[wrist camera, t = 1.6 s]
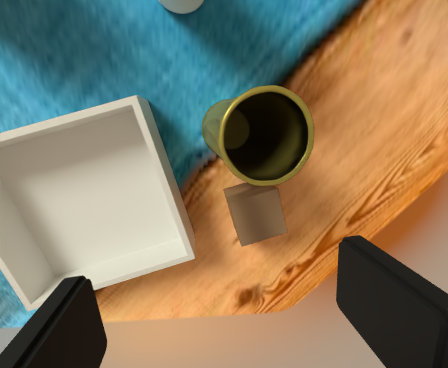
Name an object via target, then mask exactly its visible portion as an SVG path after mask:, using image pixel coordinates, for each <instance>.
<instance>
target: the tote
mask: <svg viewBox="0 0 448 368" xmlns="http://www.w3.org/2000/svg"><path fill="white" fill-rule="evenodd" d="M192 259H195V234H194V231H193V228H192V225H191V222H190V219H189V217H188V214H187V211H186V208H185V205H184V202H183V199H182V197H181V194H180V191H179V188H178V185H177V182H176V179H175V177H174V174H173V171H172V168H171V165H170V162H169V159H168V157H167V154H166V151H165V148H164V145H163V142H162V139H161V137H160V134H159V131H158V128H157V125H156V122H155V120H154V117H153V114H152V111H151V108H150V105H149V102H148V100H146V99H144V98H142V97H139V96H137V95H134V96H131V97H127V98H124V99H120V100H117V101H113V102H109V103H106V104H102V105H99V106H95V107H92V108H88V109H85V110H81V111H78V112H74V113H70V114H67V115H63V116H60V117H56V118H53V119H49V120H46V121H42V122H38V123H35V124H31V125H28V126H24V127H21V128H17V129H14V130H10V131H6V132H3V133H0V269H1V271H2V272H3V274H4V275H5V277H6V278H7V280H8V281H9V283H10V284H11V286H12V287H13V289H14V291H15V292H16V294H17V295H18V297H19V298H20V300H21V301H22V303H23V304H24V306H25V307H26V309H27V310H28V311H30V310H33V309H36V308H39V307H40V306H41V305H42V304H43V303H44V301H45V300H46V299H47V298H48V297H49V295H50V294H51V293H52V292H53V291H54V289H55V288H56V287H57V286H58V285H59V283H60V282H61V281H62V280H63V279H64V278H68V277H75V276H82V275H83V276H85V277H86V279H90V280H91V282H92V286H93V289H94V290H97V289H100V288H103V287H106V286H110V285H113V284H116V283H119V282H122V281H125V280H129V279H132V278H135V277H138V276H141V275H145V274H148V273H151V272H154V271H157V270H160V269H164V268H167V267H170V266H173V265H176V264H180V263H183V262H186V261H189V260H192Z"/></svg>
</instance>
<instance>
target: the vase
mask: <svg viewBox="0 0 448 368" xmlns="http://www.w3.org/2000/svg"><path fill="white" fill-rule="evenodd" d="M202 135H203V138H204V141H205V143H206V144H207V146H208V147H209V148H210V149H211V150H212V151H213V152H214V153H216V154H218V155H219V156H220V158H221V159H222V160H223V161H224V162H225V164H226V165H227V166H228V168H229V169H230V170H231V172H232V173H233V174H234V175H235V176H237V177H238V178H240V179H242V180H244V181H246V182H248V183H250V184H252V185H256V186H270V185H278V184H281V183H283V182H285V181H287V180H289V179H290V178H292V177H293V176H295V175H296V174H297V173H298V172H299V171H300V170H301V169H302V167H303V166H304V164H305V163H306V161H307V160H308V158H309V156H310V154H311V151H312V148H313V143H314V123H313V119H312V115H311V113H310V111H309V109H308V107H307V106H306V104H305V103H304V101H303V100H302V99H301V98H300V97H299V96H297V95H296V94H295V93H293V92H292V91H290V90H288V89H286V88H283V87H280V86H276V85H269V86H259V87H254V88H252V89H250V90H248V91H247V92H245V93H243V94H242V95H240V96H239V97H235V98H233V99H227V100H222V101H219V102H217V103H215V104H214V105H213V106H211V107H210V108H209V110H208V111H207V112H206V114H205V116H204V118H203V122H202Z"/></svg>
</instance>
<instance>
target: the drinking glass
mask: <svg viewBox="0 0 448 368" xmlns="http://www.w3.org/2000/svg"><path fill="white" fill-rule="evenodd" d="M158 1H159V2H160V3H161V4H162V5H163V6H164V7H165V8H166V9H168V10H170V11H172V12H174V13H178V14H186V13H190V12H193V11H195V10H196V9H198V8H199V7H200V6H201V4H202V3H203V2H204V0H158Z"/></svg>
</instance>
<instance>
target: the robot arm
mask: <svg viewBox="0 0 448 368" xmlns="http://www.w3.org/2000/svg"><path fill="white" fill-rule="evenodd" d="M336 296H337V297H336V301H337V304H338V307H339V308H340V310H341V311H342V313H343V314H344V315H345V316H346V318H347V319H348V320H349V321H350V323H351V324H352V325H353V326H354V328H355V329H356V330H357V331H358V333H359V334H360V335H361V337H363V339H364V340H365V342H366V343H367V344H368V345H369V347H370V348H371V349H372V350H373V352H374V353H375V354H376V355H377V357H378V358H379V359H380V361H381V362H382V363H383V364H384V365H385V367H386V368H448V294H447V293H446V292H444V291H443V290H441V289H440V288H438V287H437V286H435V285H434V284H432V283H431V282H429V281H428V280H426V279H425V278H423V277H422V276H420V275H419V274H417V273H416V272H414V271H413V270H411V269H410V268H408V267H407V266H405V265H404V264H402V263H401V262H399V261H397V260H396V259H395V258H393V257H392V256H390V255H389V254H387V253H386V252H384V251H383V250H381V249H380V248H378V247H377V246H375V245H374V244H372V243H371V242H369V241H368V240H366V239H365V238H363V237H362V236H360V235H357V236H350V237H345V238H343V240H342V242H340V243H339V253H338V274H337V295H336ZM106 347H107V338H106V334H105V330H104V327H103V323H102V319H101V315H100V312H99V308H98V304H97V300H96V297H95V293H94V289H93V286H92V282H91V280H90V279H86V277H85V276H83V275H82V276H75V277H68V278H64V279H63V280H62V281H61V282H60V283H59V285H58V286H57V287H56V288H55V289H54V291H53V292H52V293H51V294H50V295H49V297H48V298H47V299H46V300H45V301H44V303H43V304H42V305H41V306H40V307H39V309H38V310H37V311H36V312H35V313H34V315H33V316H32V317H31V318H30V319H29V321H28V322H27V323H26V324H25V325H24V327H23V328H22V329H21V330H20V331H19V333H18V334H17V335H16V336H15V337H14V338H13V340H12V341H11V342H10V343H9V344H8V346H7V347H6V348H5V349H4V351H3V352H2V353H1V354H0V368H99V367H100V364H101V362H102V359H103V357H104V354H105V351H106Z"/></svg>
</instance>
